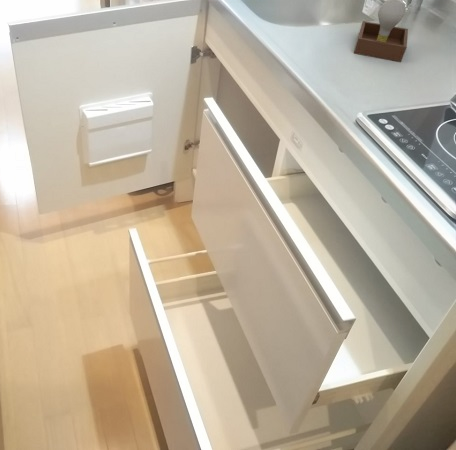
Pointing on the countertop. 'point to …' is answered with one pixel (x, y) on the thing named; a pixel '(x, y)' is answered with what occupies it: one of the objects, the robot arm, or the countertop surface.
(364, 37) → the tray
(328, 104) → the countertop surface
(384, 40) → the light bulb
